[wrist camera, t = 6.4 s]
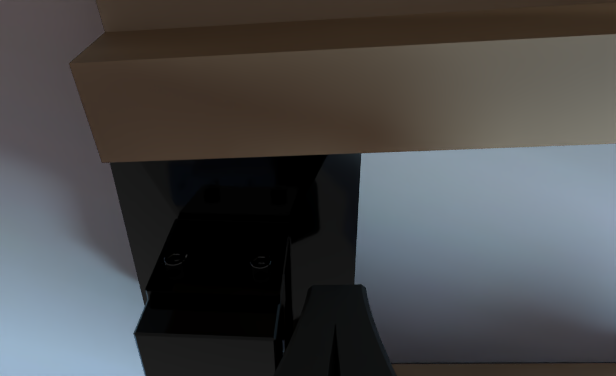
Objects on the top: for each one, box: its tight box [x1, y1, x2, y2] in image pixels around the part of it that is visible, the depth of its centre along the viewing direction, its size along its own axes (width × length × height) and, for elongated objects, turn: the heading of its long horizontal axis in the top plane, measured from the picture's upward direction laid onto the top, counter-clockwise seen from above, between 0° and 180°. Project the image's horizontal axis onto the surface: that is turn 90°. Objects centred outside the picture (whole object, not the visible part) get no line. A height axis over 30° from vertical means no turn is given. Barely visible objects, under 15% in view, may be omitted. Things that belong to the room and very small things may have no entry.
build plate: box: [110, 153, 361, 376], centre depth 14 cm, size 12×7×5 cm, turn 0°
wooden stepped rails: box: [69, 0, 616, 376], centre depth 13 cm, size 21×16×2 cm
